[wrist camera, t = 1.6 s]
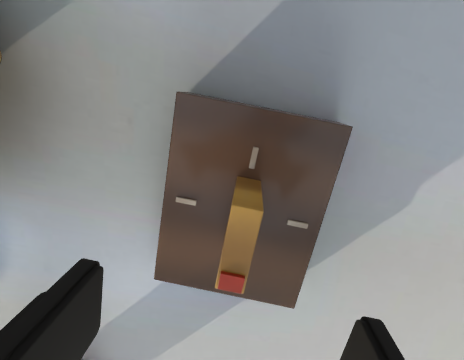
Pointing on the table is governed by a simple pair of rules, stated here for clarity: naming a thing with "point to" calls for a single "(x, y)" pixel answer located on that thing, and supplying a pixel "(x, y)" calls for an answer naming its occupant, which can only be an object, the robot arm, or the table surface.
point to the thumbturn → (240, 235)
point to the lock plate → (223, 185)
